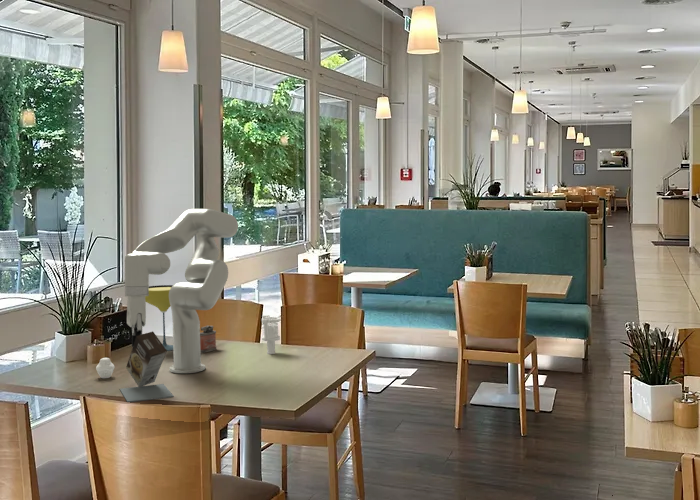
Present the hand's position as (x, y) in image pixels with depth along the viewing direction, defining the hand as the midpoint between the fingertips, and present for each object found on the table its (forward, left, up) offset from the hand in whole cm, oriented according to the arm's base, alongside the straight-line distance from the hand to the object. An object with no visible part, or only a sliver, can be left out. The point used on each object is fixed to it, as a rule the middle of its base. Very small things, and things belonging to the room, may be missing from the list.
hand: (137, 347), depth 251 cm
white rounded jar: (-19, -8, -13) cm, 24 cm away
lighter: (-47, +35, -13) cm, 60 cm away
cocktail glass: (-59, +20, -13) cm, 63 cm away
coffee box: (-2, +1, -10) cm, 10 cm away
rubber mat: (+10, +1, -13) cm, 16 cm away
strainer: (-30, +56, -13) cm, 65 cm away
